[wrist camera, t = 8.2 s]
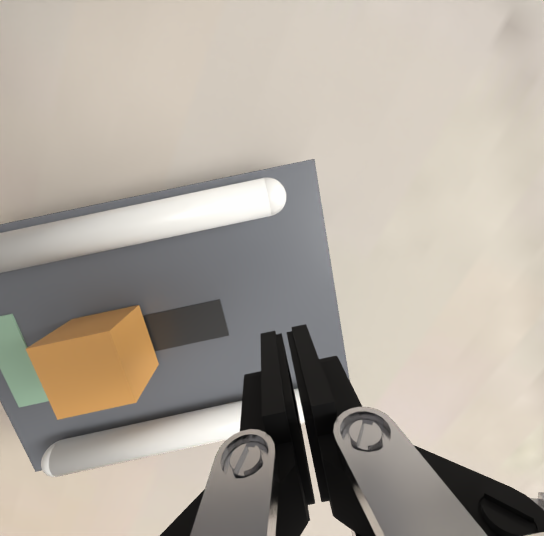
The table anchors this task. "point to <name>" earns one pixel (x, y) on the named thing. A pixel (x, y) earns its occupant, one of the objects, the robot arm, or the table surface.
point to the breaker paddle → (95, 362)
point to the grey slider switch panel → (176, 306)
